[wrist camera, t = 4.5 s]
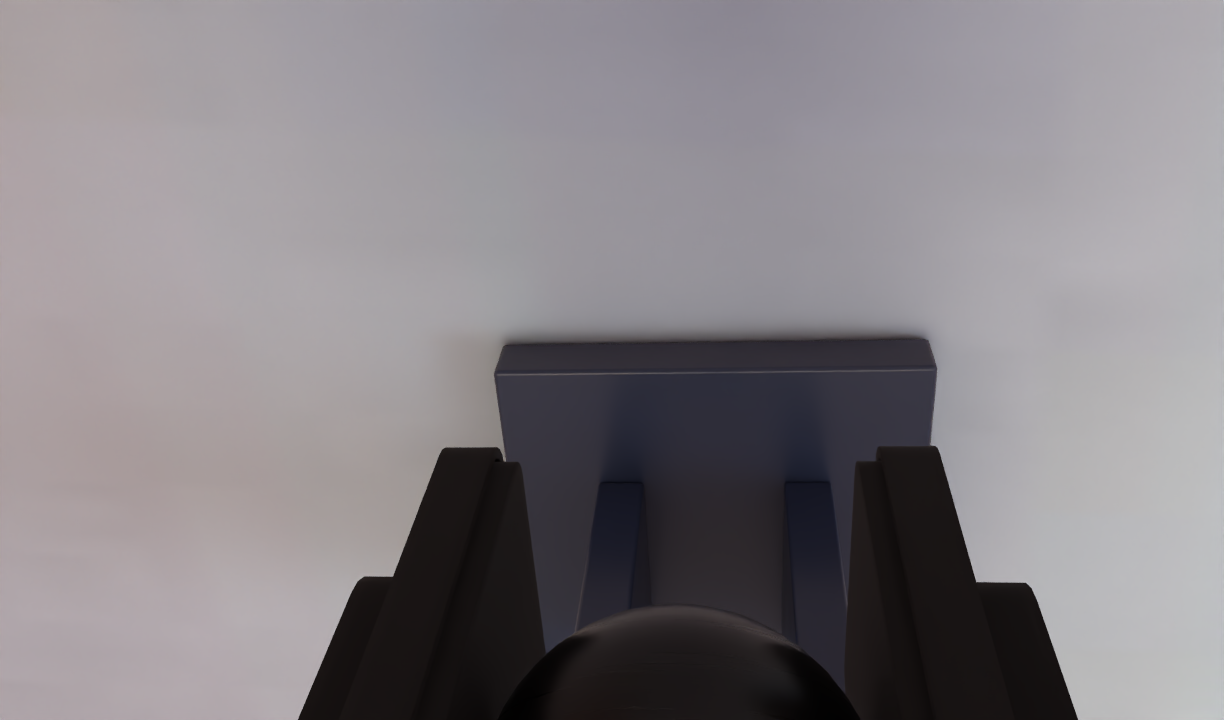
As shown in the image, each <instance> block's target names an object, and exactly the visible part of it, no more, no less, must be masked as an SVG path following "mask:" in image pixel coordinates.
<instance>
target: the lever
mask: <svg viewBox="0 0 1224 720" xmlns="http://www.w3.org/2000/svg"><path fill="white" fill-rule="evenodd" d="M497 720H861V719H860V717H859V715H858V714H857V712H856V710H855V709H854V707H853V705H852V704H851V702H850V700H849V699H848V698H847V696H846V695H845V694H844V692H843V691H842V690H841V688H840V687H839V686H838V685H837V683H836V682H835V681H834V680H833V678H832V677H831V676H830V674H829V673H828V672H827V671H826V670H825V669H824V668H823V667H822V666H821V665H820V664H819V663H818V662H817V661H816V660H815V659H813V658H812V657H811V656H810V655H809V654H808V653H807V652H806V651H805V650H803V649H802V648H801V647H800V646H798V645H797V644H795V643H794V642H792V641H791V640H790V639H788V638H787V637H785V636H784V635H782V634H781V633H779V632H778V631H776V630H774V629H772V628H770V627H768V626H766V625H764V624H762V623H760V622H757V621H755V620H753V619H751V618H749V617H747V616H744V615H741V614H738V613H735V612H731V611H728V610H723V609H719V608H714V607H709V606H703V605H696V604H680V603H676V604H658V605H651V606H644V607H638V608H633V609H628V610H625V611H621V612H618V613H615V614H613V615H610V616H608V617H605V618H603V619H600V620H598V621H595V622H593V623H591V624H589V625H587V626H585V627H583V628H582V629H580V630H578V631H577V632H575V633H574V634H572V635H570V636H569V637H567V638H566V639H564V640H563V641H562V642H560V643H559V644H557V645H556V646H555V647H554V648H553V649H552V650H550V651H549V652H548V653H547V654H546V655H545V656H544V657H542V658H541V659H540V660H539V661H538V662H537V663H536V664H535V666H534V667H533V668H532V669H531V670H530V671H529V672H528V674H527V675H526V676H525V677H524V678H523V679H522V681H521V682H520V683H519V684H518V685H517V687H516V688H515V690H514V691H513V693H512V694H511V696H510V697H509V699H508V701H507V702H506V704H505V705H504V707H503V709H502V711H501V713H500V715H499V717H498V719H497Z"/></svg>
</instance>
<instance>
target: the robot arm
mask: <svg viewBox="0 0 1224 720" xmlns="http://www.w3.org/2000/svg"><path fill="white" fill-rule="evenodd" d="M545 655H546V650H545V643H544V635H543V627H542V620H541V612H540V604H539V596H538V589H537V581H536V573H535V565H534V558H533V550H532V542H531V535H530V527H529V519H528V511H527V504H526V496H525V488H524V481H523V473H522V468H521V465H520V463H519V462H504V461H503V456H502V453H501V451H500V449H499V448H497V447H484V448H444V449H442V451H441V453H440V455H439V457H438V460H437V463H436V465H435V468H434V471H433V473H432V476H431V478H430V481H429V484H428V486H427V489H426V492H425V494H424V497H423V499H422V502H421V505H420V507H419V510H418V513H417V515H416V518H415V520H414V523H413V526H412V528H411V531H410V534H409V536H408V539H407V542H406V544H405V547H404V549H403V552H402V555H401V557H400V560H399V563H398V565H397V568H396V570H395V573H394V576H393V577H363V578H362V579H361V580H359V581H358V582H357V584H356V586H355V587H354V589H353V591H352V593H351V595H350V597H349V600H348V602H347V604H346V607H345V609H344V611H343V614H342V616H341V619H340V621H339V623H338V626H337V628H336V631H335V633H334V635H333V638H332V640H331V642H330V645H329V647H328V650H327V652H326V654H325V657H324V659H323V661H322V664H321V666H320V669H319V671H318V673H317V676H316V678H315V680H314V683H313V685H312V688H311V690H310V692H309V695H308V697H307V699H306V702H305V704H304V707H303V709H302V711H301V714H300V716H299V719H298V720H497V719H498V717H499V715H500V713H501V711H502V709H503V707H504V705H505V704H506V702H507V701H508V699H509V697H510V696H511V694H512V693H513V691H514V690H515V688H516V687H517V685H518V684H519V683H520V682H521V681H522V679H523V678H524V677H525V676H526V675H527V674H528V672H529V671H530V670H531V669H532V668H533V667H534V666H535V664H536V663H537V662H538V661H539V660H540V659H541V658H542V657H544V656H545ZM844 677H845V695H846V696H847V698H848V699H849V700H850V702H851V704H852V705H853V707H854V709H855V710H856V712H857V714H858V715H859V717H860V719H861V720H1078V718H1077V715H1076V712H1075V709H1074V707H1073V704H1072V701H1071V698H1070V695H1069V692H1068V689H1067V686H1066V683H1065V680H1064V678H1063V675H1062V672H1061V669H1060V666H1059V663H1058V660H1057V657H1056V654H1055V651H1054V648H1053V646H1052V643H1051V640H1050V637H1049V634H1048V631H1047V628H1046V625H1045V622H1044V619H1043V617H1042V614H1041V611H1040V608H1039V605H1038V602H1037V600H1036V597H1035V595H1034V593H1033V591H1032V588H1031V587H1029V586H1028V585H1027V584H1026V583H991V582H976V580H975V576H974V573H973V569H972V566H971V562H970V559H969V555H968V552H967V548H966V545H965V541H964V537H963V534H962V530H961V527H960V523H959V520H958V516H957V513H956V509H955V506H954V502H953V499H952V495H951V491H950V488H949V484H948V481H947V477H946V474H945V470H944V467H943V463H942V460H941V456H940V453H939V450H938V448H937V447H936V446H879V447H878V448H877V452H876V459H875V461H857V462H856V465H855V474H854V493H853V511H852V530H851V548H850V567H849V585H848V604H847V622H846V641H845V661H844Z"/></svg>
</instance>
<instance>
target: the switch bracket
mask: <svg viewBox="0 0 1224 720" xmlns="http://www.w3.org/2000/svg"><path fill="white" fill-rule="evenodd" d="M494 377H495V385H496V392H497V399H498V406H499V413H500V421H501V428H502V435H503V442H504V449H505V457H506V462H519V463H520V465H521V468H522V473H523V481H524V488H525V496H526V504H527V511H528V519H529V527H530V535H531V542H532V550H533V558H534V565H535V573H536V581H537V589H538V596H539V604H540V612H541V620H542V627H543V635H544V643H545V650H546V654H547V653H548V652H549V651H550V650H552V649H553V648H554V647H555V646H556V645H557V644H559V643H560V642H562V641H563V640H564V639H566V638H567V637H569V636H570V635H572V634H574V633H575V632H577V631H578V630H580V629H582V628H583V627H585V626H587V625H589V624H591V623H593V622H595V621H598V620H600V619H603V618H605V617H608V616H610V615H613V614H615V613H618V612H621V611H625V610H628V609H633V608H638V607H644V606H651V605H658V604H676V603H680V604H696V605H703V606H709V607H714V608H719V609H723V610H728V611H731V612H735V613H738V614H741V615H744V616H747V617H749V618H751V619H753V620H755V621H757V622H760V623H762V624H764V625H766V626H768V627H770V628H772V629H774V630H776V631H778V632H779V633H781V634H782V635H784V636H785V637H787V638H788V639H790V640H791V641H792V642H794V643H795V644H797V645H798V646H800V647H801V648H802V649H803V650H805V651H806V652H807V653H808V654H809V655H810V656H811V657H812V658H813V659H815V660H816V661H817V662H818V663H819V664H820V665H821V666H822V667H823V668H824V669H825V670H826V671H827V672H828V673H829V674H830V676H831V677H832V678H833V680H834V681H835V682H836V683H837V685H838V686H839V687H840V688H841V690H842V691H843V692H844V694H845V677H844V661H845V641H846V622H847V604H848V585H849V567H850V548H851V530H852V511H853V493H854V474H855V465H856V462H857V461H875V459H876V452H877V448H878V447H879V446H930V442H931V431H932V420H933V410H934V399H935V389H936V378H937V366H936V363H935V360H934V356H933V353H932V350H931V347H930V344H929V341H928V340H925V339H910V340H839V341H768V342H697V343H626V344H556V345H506V346H504V347H503V349H502V352H501V355H500V358H499V361H498V363H497V366H496V369H495V372H494Z"/></svg>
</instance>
